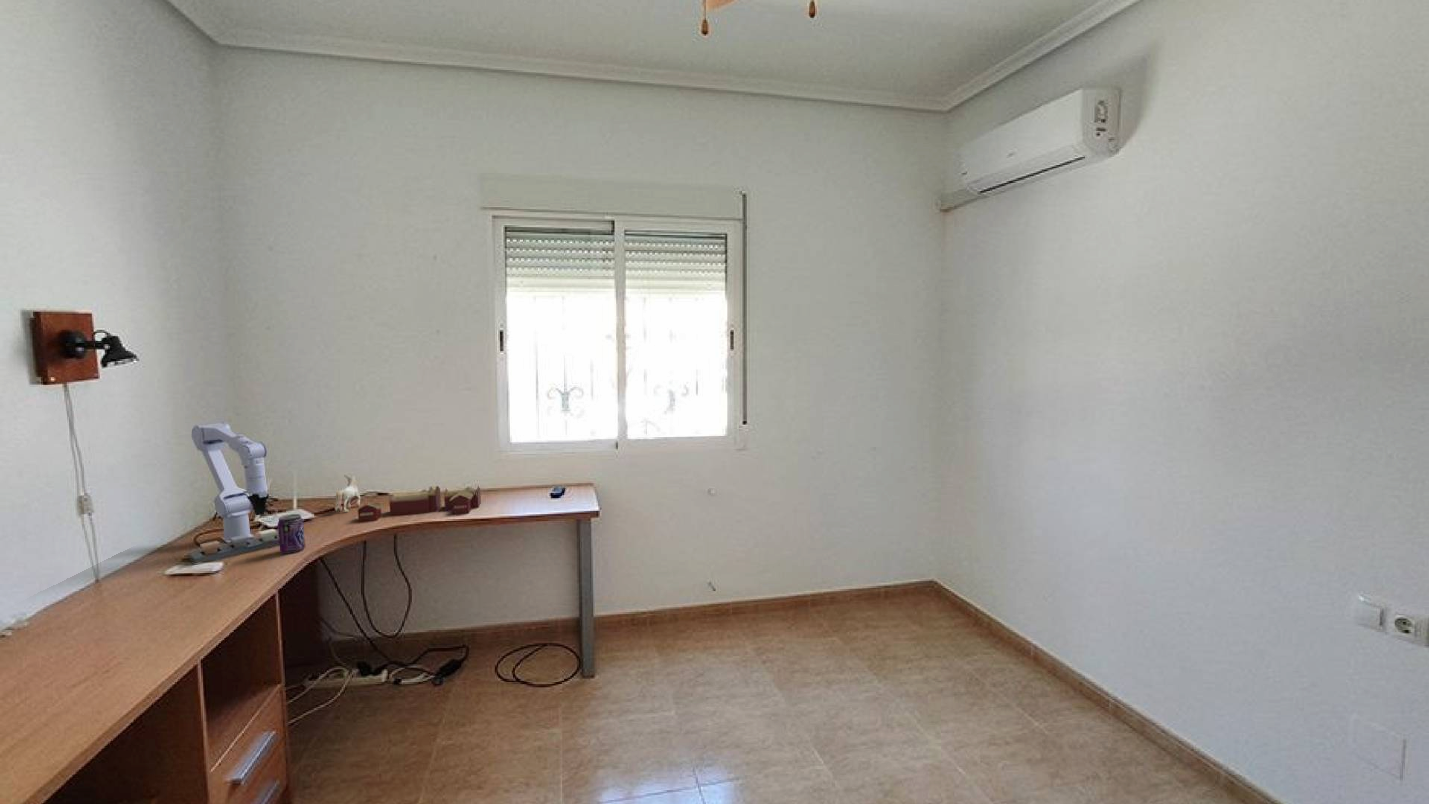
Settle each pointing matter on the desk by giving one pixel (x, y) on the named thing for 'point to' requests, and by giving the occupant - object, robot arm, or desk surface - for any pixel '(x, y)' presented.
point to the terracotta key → (210, 547)
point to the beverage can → (291, 533)
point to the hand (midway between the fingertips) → (259, 514)
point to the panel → (233, 549)
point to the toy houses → (424, 503)
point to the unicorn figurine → (347, 494)
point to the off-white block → (267, 534)
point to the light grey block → (239, 540)
